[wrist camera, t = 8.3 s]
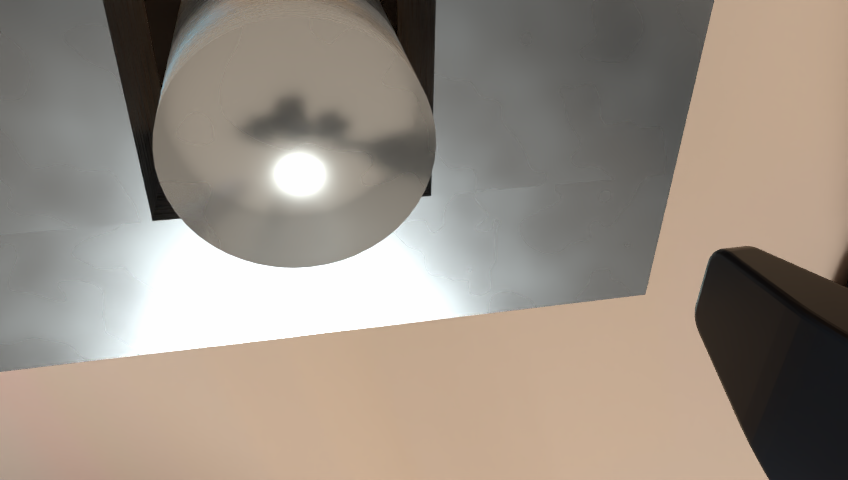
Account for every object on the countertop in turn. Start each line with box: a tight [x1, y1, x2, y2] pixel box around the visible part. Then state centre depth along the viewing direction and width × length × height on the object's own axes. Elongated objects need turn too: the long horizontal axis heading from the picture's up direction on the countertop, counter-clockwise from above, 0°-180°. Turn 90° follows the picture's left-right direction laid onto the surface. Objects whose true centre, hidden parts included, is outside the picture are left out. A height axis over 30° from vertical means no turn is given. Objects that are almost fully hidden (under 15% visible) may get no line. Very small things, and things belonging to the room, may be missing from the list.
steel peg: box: [153, 0, 436, 268], centre depth 14 cm, size 4×4×7 cm
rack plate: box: [0, 0, 714, 372], centre depth 15 cm, size 16×12×4 cm
